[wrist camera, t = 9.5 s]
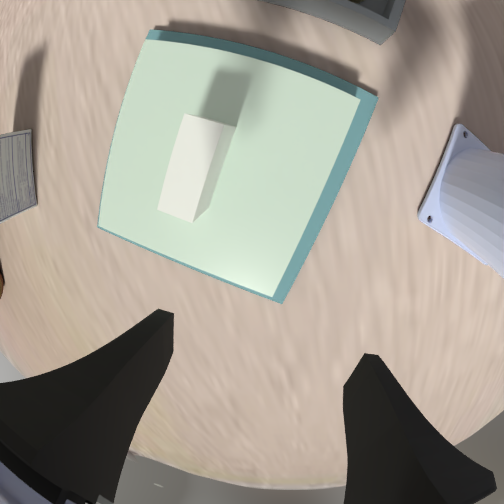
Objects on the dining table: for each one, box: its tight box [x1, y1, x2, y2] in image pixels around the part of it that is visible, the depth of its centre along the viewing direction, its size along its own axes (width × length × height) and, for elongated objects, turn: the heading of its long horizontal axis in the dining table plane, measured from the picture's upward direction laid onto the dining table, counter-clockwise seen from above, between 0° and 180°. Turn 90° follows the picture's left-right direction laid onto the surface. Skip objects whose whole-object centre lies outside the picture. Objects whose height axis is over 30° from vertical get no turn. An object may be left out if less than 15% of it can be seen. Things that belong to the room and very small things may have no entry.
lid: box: [98, 39, 360, 297], centre depth 14 cm, size 13×13×5 cm
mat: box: [97, 30, 378, 304], centre depth 17 cm, size 16×16×1 cm
